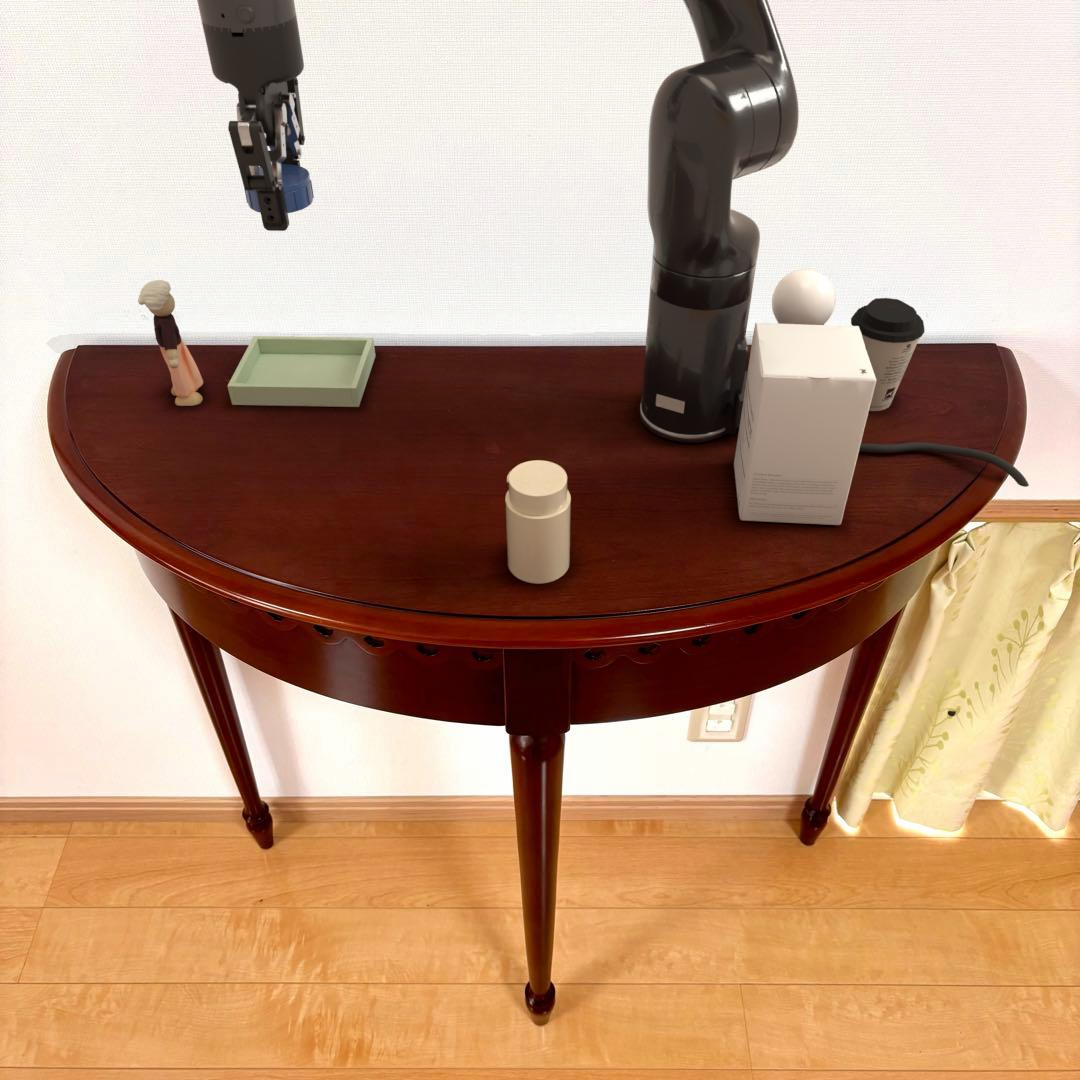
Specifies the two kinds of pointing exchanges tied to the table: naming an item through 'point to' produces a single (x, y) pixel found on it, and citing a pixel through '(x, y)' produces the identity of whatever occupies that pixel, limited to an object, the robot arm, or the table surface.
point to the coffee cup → (888, 343)
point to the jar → (538, 521)
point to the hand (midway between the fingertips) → (285, 213)
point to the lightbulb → (803, 298)
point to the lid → (289, 189)
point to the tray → (303, 371)
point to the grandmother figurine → (172, 343)
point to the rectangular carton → (801, 422)
